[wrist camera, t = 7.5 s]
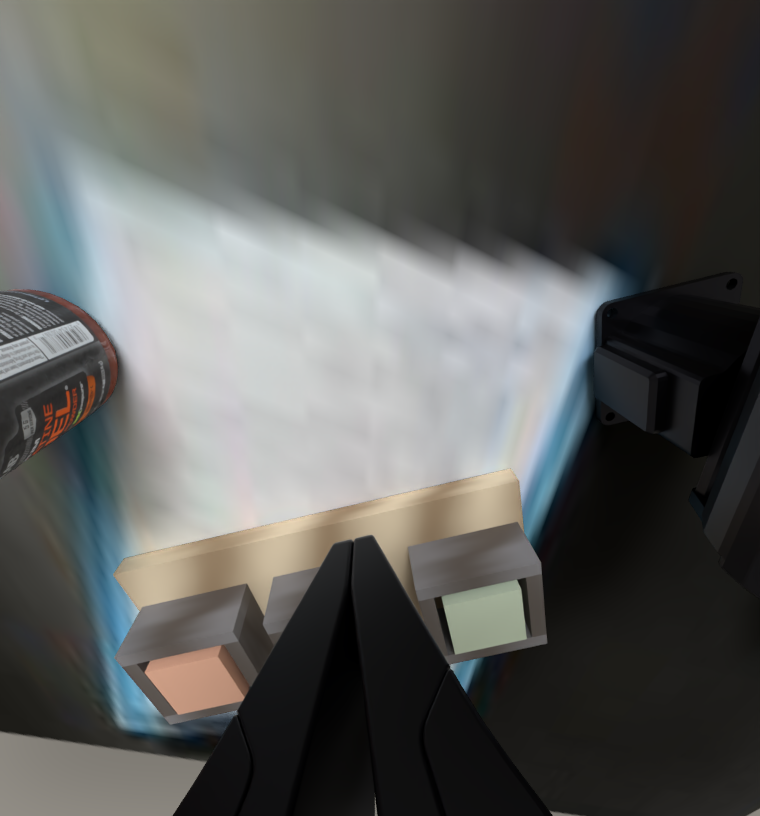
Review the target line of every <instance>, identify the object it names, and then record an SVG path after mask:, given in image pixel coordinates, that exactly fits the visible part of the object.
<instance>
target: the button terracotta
mask: <svg viewBox="0 0 760 816" xmlns="http://www.w3.org/2000/svg"><path fill="white" fill-rule="evenodd" d="M145 674H146V675H147V676H148V678H149V679H150V680H151V681H152V683H153V684H154V685H155V686H156V687H157V689H158V690H159V691H160V692H161V694H162V695H163V696H164V697H165V699H166V700H167V701H168V702H169V704H170V705H171V706H172V707H173V709H174V710H175V711H176V712H177V714H178V715H180V714H185V713H189V712H194V711H198V710H203V709H208V708H212V707H217V706H222V705H226V704H231V703H236V702H240V701H243V699H244V698H245V696H246V694H247V692H248V690H249V686H250V685H249V684H248V682H247V680H246V679H245V677H244V676H243V674H242V672H241V671H240V669H239V668H238V666H237V665H236V663H235V661H234V660H233V658H232V657H231V655H230V653H229V652H228V650H227V649H226V647H225V646H224V645H219V646H215V647H210V648H206V649H201V650H197V651H192V652H188V653H183V654H179V655H174V656H170V657H165V658H161V659H156V660H152V661H150V662H149V664H148V666H147V669H146V671H145Z"/></svg>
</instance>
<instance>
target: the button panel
mask: <svg viewBox="0 0 760 816" xmlns="http://www.w3.org/2000/svg"><path fill="white" fill-rule="evenodd" d="M366 535H373V536H374V537H375V539H376V540H377V542H378V544H379V546H380V547H381V549H382V551H383V552H384V554H385V556H386V558H387V559H388V561H389V563H390V564H391V566H392V568H393V570H394V571H395V573H396V575H397V576H398V578H399V580H400V582H401V583H402V585H403V587H404V588H405V590H406V592H407V594H408V595H409V597H410V599H411V600H412V602H413V604H414V606H415V607H416V609H417V611H418V612H419V614H420V616H421V618H422V619H423V621H424V623H425V624H426V626H427V628H428V630H429V631H430V633H431V635H432V636H433V638H434V640H435V642H436V643H437V645H438V647H439V648H440V650H441V652H442V654H443V655H444V657H445V659H446V660H447V662H448V664H454V663H458V662H463V661H468V660H472V659H477V658H481V657H486V656H491V655H495V654H500V653H505V652H509V651H514V650H519V649H523V648H528V647H533V646H537V645H542V644H546V643H547V635H546V622H545V609H544V596H543V583H542V570H541V562H540V560H539V558H538V557H537V555H536V553H535V551H534V550H533V548H532V546H531V544H530V543H529V541H528V539H527V537H526V536H525V534H524V527H523V517H522V506H521V496H520V486H519V480H518V479H517V477H516V476H515V474H514V473H513V471H512V470H511V469H506V470H502V471H498V472H494V473H489V474H485V475H481V476H476V477H472V478H468V479H463V480H459V481H455V482H450V483H446V484H442V485H438V486H433V487H429V488H425V489H420V490H416V491H412V492H407V493H403V494H399V495H395V496H390V497H386V498H382V499H377V500H373V501H369V502H364V503H360V504H356V505H352V506H347V507H343V508H339V509H334V510H330V511H326V512H321V513H317V514H313V515H308V516H304V517H300V518H296V519H291V520H287V521H283V522H278V523H274V524H270V525H265V526H261V527H257V528H253V529H248V530H244V531H240V532H235V533H231V534H227V535H222V536H218V537H214V538H209V539H205V540H201V541H197V542H192V543H188V544H184V545H179V546H175V547H171V548H166V549H162V550H158V551H154V552H149V553H145V554H141V555H136V556H132V557H128V558H124V559H123V561H122V562H121V564H120V565H119V567H118V568H117V570H116V571H115V572H114V574H113V575H114V577H115V578H116V580H117V581H118V582H119V584H120V585H121V586H122V588H123V589H124V590H125V592H126V593H127V595H128V596H129V597H130V599H131V600H132V601H133V603H134V604H135V606H136V607H137V608H138V610H139V611H140V612H139V614H138V616H137V617H136V619H135V621H134V623H133V625H132V627H131V628H130V630H129V632H128V634H127V636H126V637H125V639H124V641H123V643H122V645H121V646H120V648H119V650H118V652H117V654H116V655H115V657H114V658H115V659H116V661H117V662H118V663H119V664H120V665H121V666H122V668H123V669H124V670H125V671H126V672H127V674H128V675H129V676H130V677H131V678H132V680H133V681H134V682H135V683H136V684H137V686H138V687H139V688H140V689H141V690H142V692H143V693H144V694H145V695H146V696H147V698H148V699H149V700H150V701H151V702H152V704H153V705H154V706H155V707H156V708H157V710H158V711H159V712H160V713H161V714H162V715H163V717H164V718H165V719H166V720H167V721H168V723H169V724H175V723H180V722H184V721H189V720H194V719H198V718H203V717H208V716H212V715H217V714H221V713H226V712H231V711H235V710H238V708H239V706H240V705H241V703H242V701H240V702H236V703H231V704H226V705H222V706H217V707H212V708H208V709H203V710H198V711H194V712H189V713H185V714H180V715H178V714H177V712H176V711H175V710H174V709H173V707H172V706H171V705H170V704H169V702H168V701H167V700H166V699H165V697H164V696H163V695H162V694H161V692H160V691H159V690H158V689H157V687H156V686H155V685H154V684H153V683H152V681H151V680H150V679H149V678H148V676H147V675H146V674H145V671H146V669H147V666H148V664H149V662H150V661H152V660H156V659H161V658H165V657H170V656H174V655H179V654H183V653H188V652H192V651H197V650H201V649H206V648H210V647H215V646H219V645H224V646H225V647H226V649H227V650H228V652H229V653H230V655H231V657H232V658H233V660H234V661H235V663H236V665H237V666H238V668H239V669H240V671H241V672H242V674H243V676H244V677H245V679H246V680H247V682H248V684H249V685H250V686H249V689H250V687H251V685H252V684H253V682H254V680H255V679H256V677H257V675H258V673H259V672H260V670H261V668H262V666H263V665H264V663H265V661H266V659H267V658H268V656H269V654H270V652H271V651H272V649H273V647H274V646H275V644H276V642H277V640H278V639H279V637H280V635H281V633H282V632H283V630H284V628H285V626H286V625H287V623H288V621H289V620H290V618H291V616H292V614H293V613H294V611H295V609H296V607H297V606H298V604H299V602H300V600H301V599H302V597H303V595H304V593H305V592H306V590H307V588H308V587H309V585H310V583H311V581H312V580H313V578H314V576H315V574H316V573H317V571H318V569H319V567H320V566H321V564H322V562H323V561H324V559H325V557H326V555H327V554H328V552H329V550H330V548H331V547H332V545H333V544H334V543H336V542H340V541H345V540H349V539H351V540H353V541H354V540H355V538H358V537H362V536H366ZM512 580H517V581H518V583H519V586H520V588H521V592H522V601H523V610H524V619H525V628H526V637H527V639H525V640H521V641H516V642H511V643H507V644H502V645H498V646H493V647H488V648H484V649H479V650H474V651H470V652H465V653H461V654H456V655H455V651H454V647H453V643H452V639H451V635H450V631H449V627H448V623H447V619H446V615H445V610H444V606H443V602H442V598H441V596H445V595H449V594H454V593H458V592H463V591H467V590H472V589H476V588H481V587H485V586H490V585H494V584H499V583H503V582H508V581H512ZM248 691H249V690H248Z"/></svg>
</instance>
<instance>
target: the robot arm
mask: <svg viewBox="0 0 760 816" xmlns="http://www.w3.org/2000/svg"><path fill="white" fill-rule="evenodd" d="M729 280H730V283H729V285H728V286H727V287H726V285H727V282H728V281H729ZM742 284H743V277H742V276H741V274H739V273H735V272H724V273H720V274H716V275H712V276H708V277H704V278H700V279H696V280H692V281H688V282H684V283H680V284H675V285H671V286H667V287H663V288H659V289H655V290H651V291H647V292H643V293H639V294H635V295H631V296H627V297H623V298H618V299H614V300H610V301H607V302H605V303H603V304H602V305H601V306H600V307H599V309H598V311H597V348H596V350H595V352H594V396H595V397H596V416H597V419H598V420H599V421H600V422H601V423H603V424H604V425H612V424H616V423H621V422H625V421H631V422H632V423H634V424H635V425H637V426H638V427H639V428H641V429H642V430H644V431H645V432H647V433H648V434H651V435H652V434H656V433H658V434H659V435H661V436H662V437H664V438H665V439H667V440H668V441H670V442H671V443H673V444H674V445H676V446H677V447H679V448H680V449H682V450H683V451H685V452H686V453H688V454H689V455H690V456H692V457H693V458H698V457H703V456H707V455H708V457H707V460H706V463H705V465H704V468H703V471H702V473H701V476H700V479H699V481H698V484H697V487H696V488H693V489H692V491H691V494H690V497H689V502H690V504H691V505H692V507H693V508H694V510H695V511H696V513H697V514H698V516H699V517H700V519H701V520H702V524H703V532H704V533H705V535H706V536H707V538H708V539H709V541H710V542H711V544H712V545H713V546H714V548H715V549H716V551H717V552H718V553H719V554H720V555H721V557H720V559H719V565H720V566H721V568H722V569H723V570H724V571H725V572H726V573H727V574H728V575H730V576H731V577H732V578H733V579H734V580H735V581H736V582H738V583H739V584H740V585H741V586H742V587H743V588H745V589H746V590H747V591H748V592H750V593H751V594H753V595H754V596H756V597H757V598H759V599H760V308H756V307H751V306H745V305H740V304H739V302H740V296H741V290H742ZM611 308H612V309H613V312H612V314H611V315H610V316H608V317H607V313H608V311H609V310H610V309H611ZM610 412H611V413H610ZM608 413H610V415H609V416H608V417H606V415H607V414H608ZM605 417H606V418H605ZM237 713H238V715H235V716H233V718H232V720H231V722H230V723H229V725H228V727H227V728H226V730H225V732H224V734H223V735H222V737H221V739H220V741H219V742H218V744H217V746H216V747H215V749H214V751H213V752H212V754H211V756H210V757H209V759H208V761H207V762H206V764H205V766H204V767H203V769H202V770H201V772H200V774H199V775H198V777H197V779H196V780H195V782H194V784H193V785H192V787H191V788H190V790H189V791H188V793H187V795H186V796H185V798H184V799H183V801H182V802H181V804H180V805H179V807H178V808H177V810H176V811H175V813H174V814H173V816H375V798H376V807H377V814H378V816H552V814H551V813H550V811H549V810H548V809H547V807H546V806H545V805H544V803H543V802H542V801H541V799H540V798H539V797H538V795H537V794H536V793H535V791H534V790H533V789H532V787H531V786H530V785H529V783H528V782H527V781H526V780H525V778H524V777H523V776H522V774H521V773H520V772H519V770H518V769H517V768H516V766H515V765H514V764H513V762H512V761H511V759H510V758H509V757H508V755H507V754H506V752H505V751H504V750H503V748H502V747H501V745H500V744H499V743H498V741H497V740H496V738H495V737H494V736H493V734H492V733H491V731H490V730H489V729H488V727H487V726H486V724H485V723H484V721H483V720H482V718H481V716H480V715H479V713H478V712H477V710H476V708H475V707H474V705H473V704H472V702H471V700H470V699H469V697H468V696H467V694H466V692H465V691H464V689H463V687H462V686H461V684H460V682H459V681H458V679H457V677H456V675H455V674H454V672H453V670H451V669H450V666H449V664H448V662H447V660H446V659H445V657H444V655H443V654H442V652H441V650H440V648H439V647H438V645H437V643H436V642H435V640H434V638H433V636H432V635H431V633H430V631H429V630H428V628H427V626H426V624H425V623H424V621H423V619H422V618H421V616H420V614H419V612H418V611H417V609H416V607H415V606H414V604H413V602H412V600H411V599H410V597H409V595H408V594H407V592H406V590H405V588H404V587H403V585H402V583H401V582H400V580H399V578H398V576H397V575H396V573H395V571H394V570H393V568H392V566H391V564H390V563H389V561H388V559H387V558H386V556H385V554H384V552H383V551H382V549H381V547H380V546H379V544H378V542H377V540H376V539H375V537H374V536H373V535H366V536H362V537H358V538H355V540H354V541H353V540H351V539H349V540H345V541H340V542H336V543H334V544H333V545H332V547H331V548H330V550H329V552H328V554H327V555H326V557H325V559H324V561H323V562H322V564H321V566H320V567H319V569H318V571H317V573H316V574H315V576H314V578H313V580H312V581H311V583H310V585H309V587H308V588H307V590H306V592H305V593H304V595H303V597H302V599H301V600H300V602H299V604H298V606H297V607H296V609H295V611H294V613H293V614H292V616H291V618H290V620H289V621H288V623H287V625H286V626H285V628H284V630H283V632H282V633H281V635H280V637H279V639H278V640H277V642H276V644H275V646H274V647H273V649H272V651H271V652H270V654H269V656H268V658H267V659H266V661H265V663H264V665H263V666H262V668H261V670H260V672H259V673H258V675H257V677H256V679H255V680H254V682H253V684H252V685H251V687H250V689H249V691H248V692H247V694H246V696H245V698H244V699H243V701H242V703H241V705H240V706H239V708H238V710H237Z"/></svg>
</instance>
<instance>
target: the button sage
mask: <svg viewBox="0 0 760 816" xmlns="http://www.w3.org/2000/svg"><path fill="white" fill-rule="evenodd" d="M441 598H442V602H443V606H444V610H445V615H446V619H447V623H448V627H449V631H450V635H451V639H452V643H453V647H454V651H455V655H456V654H461V653H465V652H470V651H474V650H479V649H484V648H488V647H493V646H498V645H502V644H507V643H511V642H516V641H521V640H525V639H527V637H526V628H525V619H524V610H523V601H522V592H521V588H520V586H519V583H518V581H517V580H512V581H508V582H503V583H499V584H494V585H490V586H485V587H481V588H476V589H472V590H467V591H463V592H458V593H454V594H449V595H445V596H441Z"/></svg>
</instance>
